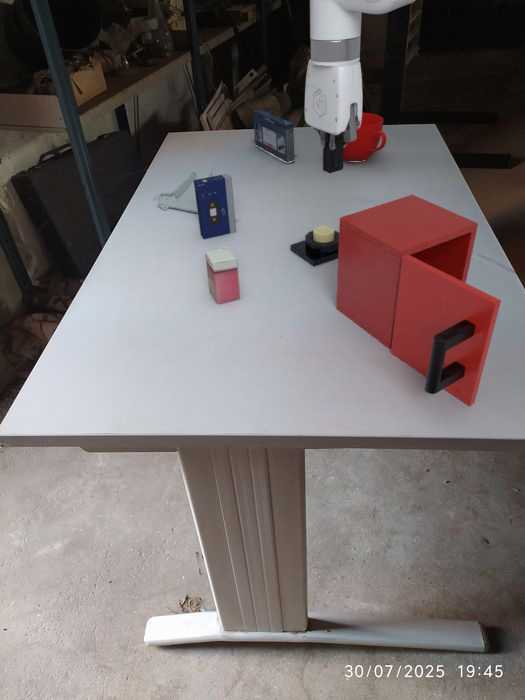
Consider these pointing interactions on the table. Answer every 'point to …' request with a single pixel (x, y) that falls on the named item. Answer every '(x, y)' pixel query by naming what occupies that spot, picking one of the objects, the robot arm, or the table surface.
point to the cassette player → (215, 205)
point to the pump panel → (316, 249)
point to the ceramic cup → (366, 139)
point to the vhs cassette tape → (274, 135)
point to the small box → (222, 274)
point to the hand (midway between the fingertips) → (333, 170)
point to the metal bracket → (183, 195)
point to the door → (443, 328)
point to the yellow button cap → (323, 234)
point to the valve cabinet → (395, 256)
